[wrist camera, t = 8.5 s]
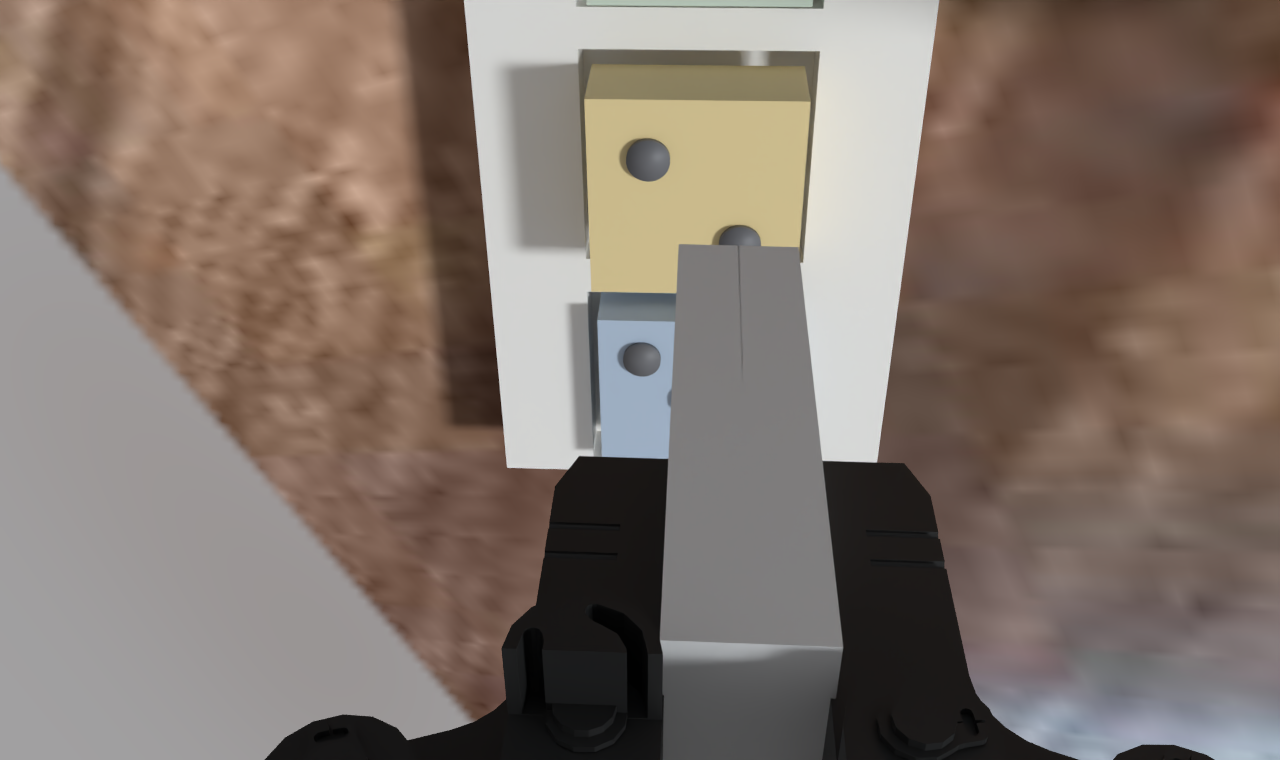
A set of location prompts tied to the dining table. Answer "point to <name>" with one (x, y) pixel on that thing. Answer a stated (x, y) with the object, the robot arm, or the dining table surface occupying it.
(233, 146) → the dining table surface
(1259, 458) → the dining table surface
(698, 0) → the tile one
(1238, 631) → the dining table surface
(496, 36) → the panel
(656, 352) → the tile three
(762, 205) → the tile two
